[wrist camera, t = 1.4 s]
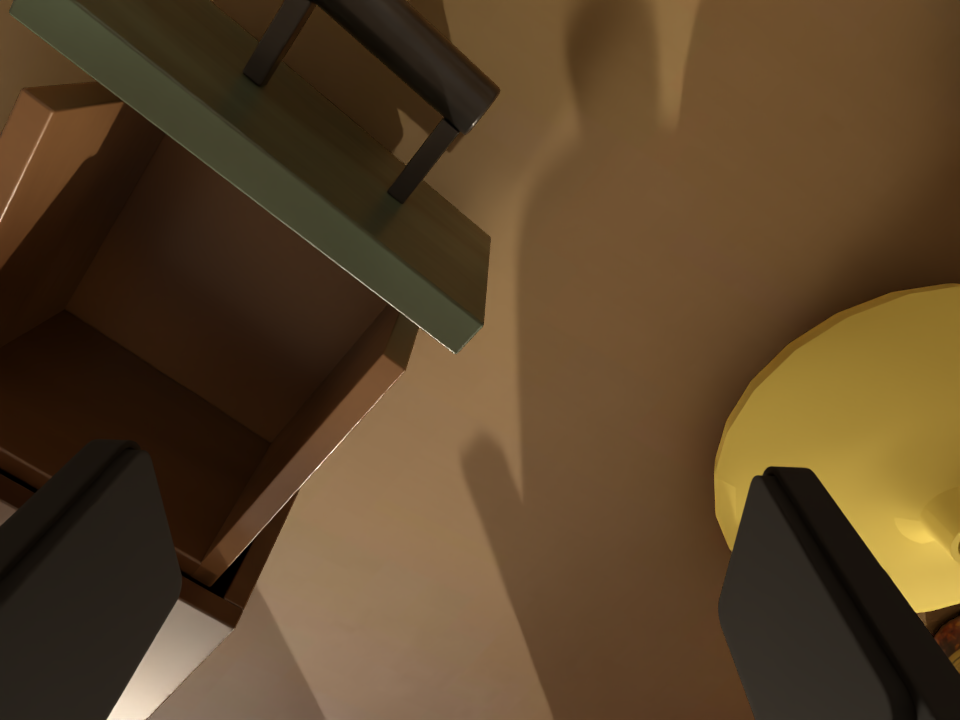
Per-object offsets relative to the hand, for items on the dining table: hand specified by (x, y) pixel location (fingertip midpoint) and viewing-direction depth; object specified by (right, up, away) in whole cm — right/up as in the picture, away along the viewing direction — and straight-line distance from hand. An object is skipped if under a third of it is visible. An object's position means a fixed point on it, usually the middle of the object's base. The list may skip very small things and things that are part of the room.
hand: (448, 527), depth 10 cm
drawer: (-7, +8, +14) cm, 17 cm away
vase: (+18, 0, +18) cm, 25 cm away
